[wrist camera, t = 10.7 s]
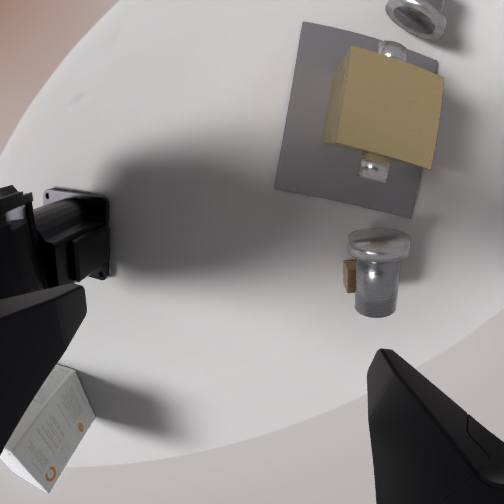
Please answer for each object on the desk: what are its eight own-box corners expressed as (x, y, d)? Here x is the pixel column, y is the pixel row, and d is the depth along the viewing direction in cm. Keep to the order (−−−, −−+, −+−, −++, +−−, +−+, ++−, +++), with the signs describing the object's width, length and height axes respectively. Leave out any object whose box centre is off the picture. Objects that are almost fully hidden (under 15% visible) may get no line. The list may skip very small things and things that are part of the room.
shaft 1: (340, 225, 19) (354, 249, 15) (393, 223, 18) (420, 245, 14) (340, 288, 20) (352, 324, 16) (390, 284, 20) (411, 318, 16)
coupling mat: (274, 187, 19) (274, 188, 18) (302, 23, 15) (302, 21, 15) (408, 217, 18) (410, 218, 18) (435, 61, 14) (436, 60, 14)
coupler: (317, 162, 18) (330, 171, 12) (335, 57, 15) (354, 22, 10) (385, 179, 17) (424, 195, 12) (402, 77, 15) (445, 55, 9)
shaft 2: (422, 49, 14) (453, 29, 10) (374, 20, 14) (395, -8, 10) (438, 7, 13) (467, -16, 8) (393, -20, 13) (414, -50, 8)
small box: (37, 355, 28) (-27, 425, 15) (76, 369, 27) (11, 453, 15) (59, 403, 30) (10, 470, 18) (97, 417, 30) (50, 495, 17)
